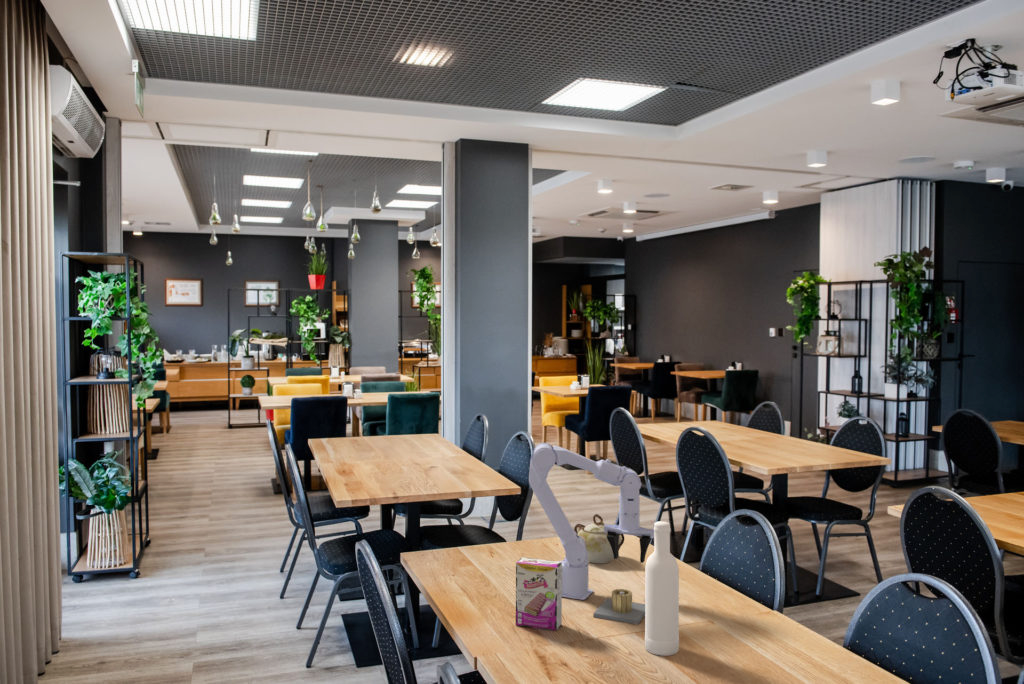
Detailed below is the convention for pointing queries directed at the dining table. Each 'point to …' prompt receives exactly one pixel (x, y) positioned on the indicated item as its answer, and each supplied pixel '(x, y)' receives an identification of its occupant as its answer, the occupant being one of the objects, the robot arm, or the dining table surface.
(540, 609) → the candy bar box
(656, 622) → the bottle
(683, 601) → the dining table surface
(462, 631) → the dining table surface
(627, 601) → the collar
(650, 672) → the dining table surface
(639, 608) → the stand
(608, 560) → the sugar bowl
